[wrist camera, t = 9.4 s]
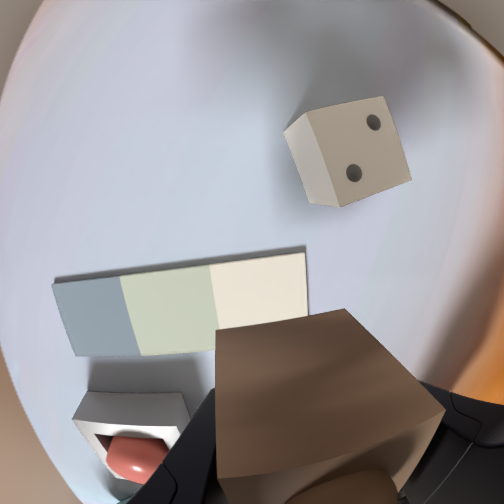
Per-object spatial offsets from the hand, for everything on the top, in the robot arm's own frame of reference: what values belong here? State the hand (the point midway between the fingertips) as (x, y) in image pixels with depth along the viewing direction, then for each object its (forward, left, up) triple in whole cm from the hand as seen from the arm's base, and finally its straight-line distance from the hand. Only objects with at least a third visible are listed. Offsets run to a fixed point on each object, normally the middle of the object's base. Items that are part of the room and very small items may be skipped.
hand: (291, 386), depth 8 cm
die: (-5, -7, -8) cm, 11 cm away
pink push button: (+9, +10, -7) cm, 15 cm away
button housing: (+9, +10, -8) cm, 15 cm away
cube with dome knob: (0, 0, -1) cm, 1 cm away
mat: (+5, 0, -8) cm, 9 cm away
